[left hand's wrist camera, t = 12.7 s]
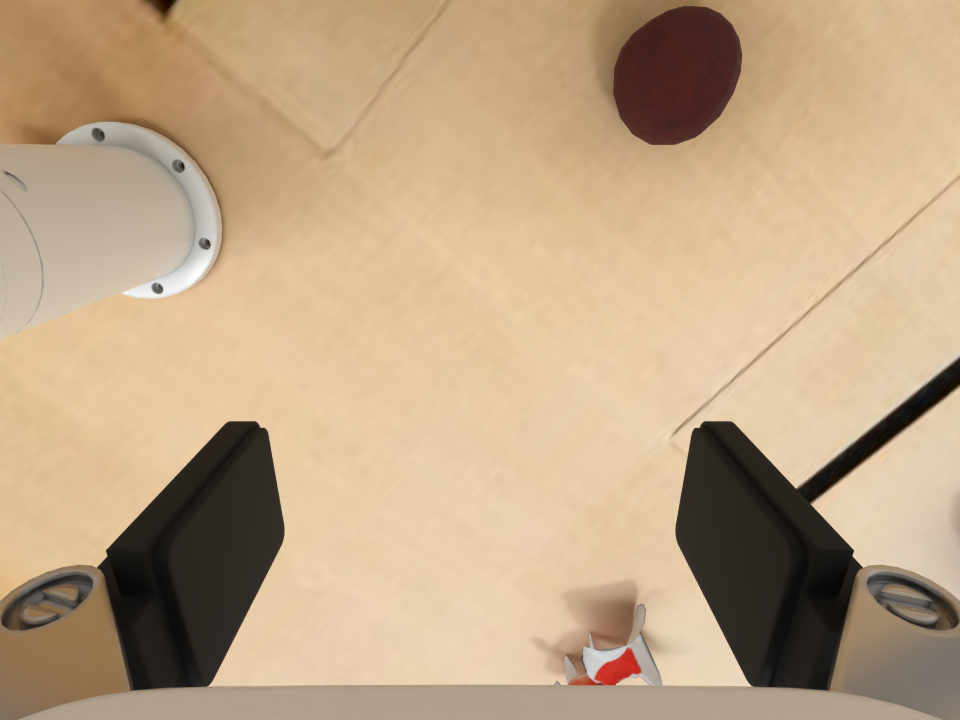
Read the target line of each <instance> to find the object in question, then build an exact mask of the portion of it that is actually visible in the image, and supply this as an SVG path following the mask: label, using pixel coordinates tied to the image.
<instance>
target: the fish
mask: <svg viewBox="0 0 960 720" xmlns="http://www.w3.org/2000/svg"><path fill="white" fill-rule="evenodd" d="M645 616H646V609H645V607H644V604H640V605H638V606H637V609H636V612H635V617H634V621H633V628H632V632H631V635H630V637H629V640H628V642H627V644H626V645H625V646H623V647H618V648H613V649H601V650H595V647H594V643H593V640H592V636H591V633H589V643H590V648H587V647H583V654H582V663H583V665H584V668H585V671H586V673H587V674H584V675H580V676H577V677H576V674H577V669H576V666H575V665H574V664H573V663H572V661H571V660H570V659H569V658H568V657H567V656H565V658H564V660H565V669H566V678H567V682H568V685H616V683H618V682H620V681H622V680H623V679H625V678H634V677H641V678H642V679H643V680H645V681H646V682H647V683H648V684H649V685H650V686H663V685H662V681H661V677H660V673H659V671H658V669H657V667H656V664H655V662H654V660H653V658H652V655H651V653H650V651H649V649H648V647H647V644H646V642H645V640H644V638H643V636H642V634H641V630H642V628H643V626H644V622H645ZM554 685H560V684H559V683H558V682H556V683H555V684H554Z"/></svg>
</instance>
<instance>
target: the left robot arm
mask: <svg viewBox="0 0 960 720" xmlns="http://www.w3.org/2000/svg"><path fill="white" fill-rule="evenodd" d="M104 134H105V136H104ZM182 163H183V164H184V165H185V169H184V168H183V167H182ZM207 240H209V241H210V243H211V245H210V244H208V241H207ZM221 242H222V219H221V212H220V208H219V205H218V201H217V198H216V195H215V193H214V191H213V189H212V187H211V185H210V183H209V181H208V179H207V177H206V176H205V174H204V173H203V172H202V170H201V169H200V168H199V166H198V165H197V163H196V162H195V161H194V160H193V159H192V158H191V157H190V156H189V155H188V154H187V153H186V152H185V151H184V150H183V149H182V148H180V147H179V146H178V145H176V144H175V143H174V142H172V141H171V140H169V139H168V138H167V137H165V136H163V135H161V134H159V133H157V132H155V131H153V130H151V129H148V128H145V127H141V126H138V125H135V124H130V123H122V122H95V123H91V124H86V125H82V126H80V127H78V128H76V129H74V130H72V131H70V132H68V133H67V134H66V135H65V136H64V137H62V138H61V139H60V140H59V141H58V142H57V143H56V144H55V145H46V144H3V143H1V142H0V340H3V339H5V338H8V337H10V336H13V335H16V334H18V333H21V332H23V331H26V330H28V329H31V328H33V327H36V326H38V325H41V324H44V323H46V322H49V321H51V320H54V319H56V318H59V317H61V316H64V315H67V314H69V313H72V312H74V311H77V310H79V309H82V308H84V307H87V306H89V305H92V304H95V303H97V302H100V301H102V300H105V299H107V298H110V297H112V296H115V295H118V294H124V295H127V296H131V297H135V298H147V299H154V298H165V297H168V296H172V295H175V294H178V293H181V292H183V291H185V290H187V289H189V288H191V287H192V286H194V285H195V284H197V283H198V282H199V281H201V280H202V279H203V278H204V277H205V276H206V274H207V273H208V272H209V271H210V270H211V268H212V266H213V265H214V263H215V261H216V259H217V257H218V254H219V250H220V246H221ZM161 285H162V286H161ZM162 287H163V288H162ZM284 530H285V529H284V522H283V516H282V510H281V504H280V499H279V493H278V487H277V481H276V476H275V470H274V464H273V458H272V453H271V447H270V441H269V435H268V432H267V430H266V429H265V428H260V426H259V424H258V423H257V422H256V421H230V422H227V423H226V424H225V425H224V426H223V427H222V428H221V429H220V430H219V431H218V432H217V433H216V434H215V435H214V436H213V437H212V439H211V440H210V441H209V442H208V443H207V444H206V445H205V446H204V447H203V448H202V449H201V450H200V451H199V452H198V453H197V454H196V456H195V457H194V458H193V459H192V460H191V461H190V462H189V463H188V464H187V465H186V466H185V467H184V468H183V469H182V470H181V471H180V472H179V474H178V475H177V476H176V477H175V478H174V479H173V480H172V481H171V482H170V483H169V484H168V485H167V486H166V487H165V488H164V489H163V491H162V492H161V493H160V494H159V495H158V496H157V497H156V498H155V499H154V500H153V501H152V502H151V503H150V504H149V505H148V506H147V508H146V509H145V510H144V511H143V512H142V513H141V514H140V515H139V516H138V517H137V518H136V519H135V520H134V521H133V522H132V523H131V524H130V526H129V527H128V528H127V529H126V530H125V531H124V532H123V533H122V534H121V535H120V536H119V537H118V538H117V539H116V540H115V541H114V543H113V544H112V545H111V546H110V547H109V548H108V549H107V550H106V552H107V555H108V556H107V558H106V559H105V560H104V561H103V562H102V563H101V564H100V565H99V566H98V567H97V568H95V567H93V566H88V565H75V566H68V567H62V568H59V569H56V570H53V571H49V572H46V573H44V574H42V575H40V576H37V577H35V578H33V579H31V580H29V581H27V582H26V583H24V584H22V585H21V586H19V587H17V588H16V589H14V590H13V591H11V592H10V593H9V594H8V595H7V596H6V597H4V598H3V599H2V600H1V601H0V720H960V601H959V600H958V599H957V598H956V597H954V596H953V595H952V594H951V593H950V592H949V591H947V590H946V589H944V588H943V587H941V586H939V585H938V584H936V583H934V582H933V581H931V580H929V579H927V578H925V577H923V576H920V575H918V574H916V573H914V572H911V571H907V570H904V569H901V568H898V567H892V566H885V565H872V566H867V567H865V568H863V567H862V566H861V565H860V564H859V563H858V562H857V561H856V560H855V559H854V558H853V556H852V555H853V552H854V550H853V549H852V548H851V547H850V546H849V545H848V544H847V543H846V541H845V540H844V539H843V538H842V537H841V536H840V535H839V534H838V533H837V532H836V531H835V530H834V529H833V528H832V527H831V526H830V524H829V523H828V522H827V521H826V520H825V519H824V518H823V517H822V516H821V515H820V514H819V513H818V512H817V511H816V510H815V509H814V508H813V506H812V505H811V504H810V503H809V502H808V501H807V500H806V499H805V498H804V497H803V496H802V495H801V494H800V493H799V492H798V491H797V489H796V488H795V487H794V486H793V485H792V484H791V483H790V482H789V481H788V480H787V479H786V478H785V477H784V476H783V475H782V474H781V472H780V471H779V470H778V469H777V468H776V467H775V466H774V465H773V464H772V463H771V462H770V461H769V460H768V459H767V458H766V457H765V456H764V454H763V453H762V452H761V451H760V450H759V449H758V448H757V447H756V446H755V445H754V444H753V443H752V442H751V441H750V440H749V439H748V437H747V436H746V435H745V434H744V433H743V432H742V431H741V430H740V429H739V428H738V427H737V426H736V425H735V424H734V423H733V422H730V421H704V422H703V423H702V424H701V426H700V428H695V429H694V430H693V432H692V435H691V441H690V447H689V453H688V458H687V464H686V470H685V476H684V481H683V487H682V493H681V499H680V504H679V510H678V516H677V522H676V529H675V530H676V539H677V543H678V545H679V547H680V549H681V551H682V553H683V555H684V557H685V559H686V561H687V563H688V565H689V567H690V569H691V571H692V573H693V575H694V577H695V579H696V581H697V583H698V585H699V587H700V589H701V591H702V593H703V595H704V597H705V599H706V600H707V602H708V604H709V606H710V608H711V610H712V612H713V614H714V616H715V618H716V620H717V622H718V624H719V626H720V628H721V630H722V632H723V634H724V636H725V638H726V640H727V642H728V644H729V646H730V648H731V650H732V652H733V654H734V656H735V658H736V660H737V662H738V664H739V666H740V668H741V670H742V671H743V673H744V675H745V677H746V679H747V681H748V682H749V684H750V685H751V686H753V687H740V686H622V685H337V686H220V687H207V686H209V685H210V684H211V682H212V681H213V679H214V677H215V675H216V673H217V671H218V670H219V668H220V666H221V664H222V662H223V660H224V658H225V656H226V654H227V652H228V650H229V648H230V646H231V644H232V642H233V640H234V638H235V636H236V634H237V632H238V630H239V628H240V626H241V624H242V622H243V620H244V618H245V616H246V614H247V612H248V610H249V608H250V606H251V604H252V602H253V600H254V599H255V597H256V595H257V593H258V591H259V589H260V587H261V585H262V583H263V581H264V579H265V577H266V575H267V573H268V571H269V569H270V567H271V565H272V563H273V561H274V559H275V557H276V555H277V553H278V551H279V549H280V547H281V545H282V543H283V539H284Z"/></svg>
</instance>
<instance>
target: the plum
mask: <svg viewBox="0 0 960 720" xmlns="http://www.w3.org/2000/svg"><path fill="white" fill-rule="evenodd" d="M741 61H742V51H741V46H740V41H739V37H738V35H737V33H736V31H735V30H734V28H733V26H732V24H731V23H730V22H729V21H728V20H727V19H726V18H725V17H724V16H722V15H721V14H720V13H718V12H716V11H714V10H711V9H709V8H707V7H695V6H683V7H679V8H676V9H672V10H668V11H666V12H665V13H663V14H661V15H659V16H657V17H656V18H654V19H652V20H651V21H649V22H648V23H646V24H645V25H644V26H643V27H641V28H640V29H639V30H637V31H636V32H635V33H633V34H632V36H631V37H630V38H629V40H628V41H627V42H626V44H625V45H624V46H623V47H622V49H621V52H620V55H619V57H618V60H617V63H616V65H615V69H614V91H613V93H614V97H615V101H616V104H617V108H618V111H619V115H620V118H621V119H622V121H623V122H624V123H625V125H626V126H627V127H628V129H629V130H630V131H631V133H632V134H633V135H635V136H637V137H638V138H640V139H642V140H644V141H645V142H647V143H649V144H650V145H675V144H678V143H681V142H684V141H687V140H689V139H692V138H695V137H696V136H698V135H699V134H701V133H702V132H703V131H704V130H705V129H706V128H707V127H708V126H710V125H711V124H712V123H713V122H714V121H715V120H716V119H717V118H718V117H720V115H721V113H722V112H723V110H724V108H725V107H726V105H727V103H728V101H729V100H730V98H731V96H732V95H733V93H734V90H735V87H736V84H737V81H738V78H739V75H740V72H741Z"/></svg>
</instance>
